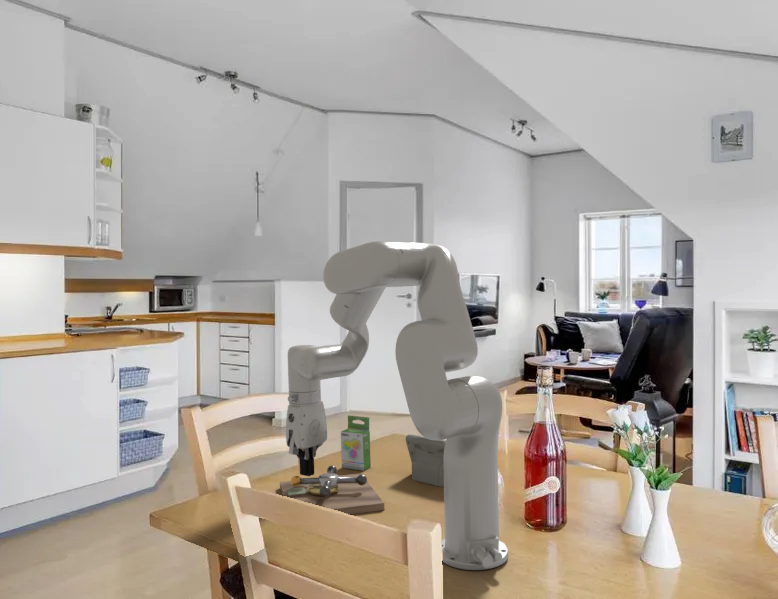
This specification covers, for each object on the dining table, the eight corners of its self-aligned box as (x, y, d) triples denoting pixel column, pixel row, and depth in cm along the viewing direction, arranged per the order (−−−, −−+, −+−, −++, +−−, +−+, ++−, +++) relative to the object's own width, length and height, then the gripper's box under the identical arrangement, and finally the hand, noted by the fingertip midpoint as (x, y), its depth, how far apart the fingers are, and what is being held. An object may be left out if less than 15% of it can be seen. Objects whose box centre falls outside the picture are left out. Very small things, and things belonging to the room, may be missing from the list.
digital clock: (471, 483, 146) (470, 440, 146) (443, 492, 140) (442, 446, 140) (426, 468, 159) (426, 428, 158) (400, 475, 153) (399, 434, 153)
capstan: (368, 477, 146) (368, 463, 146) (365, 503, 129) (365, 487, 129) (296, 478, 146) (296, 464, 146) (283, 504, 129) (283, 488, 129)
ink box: (340, 468, 161) (339, 417, 160) (349, 464, 164) (348, 415, 164) (363, 471, 157) (362, 420, 157) (371, 467, 161) (370, 417, 160)
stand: (384, 509, 130) (384, 502, 130) (290, 521, 124) (290, 513, 124) (360, 479, 151) (360, 472, 151) (280, 488, 145) (279, 481, 145)
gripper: (294, 404, 135) (297, 486, 135) (337, 393, 147) (339, 468, 147) (270, 401, 139) (273, 481, 139) (313, 391, 151) (315, 464, 152)
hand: (307, 474), depth 143 cm, fingers closed
